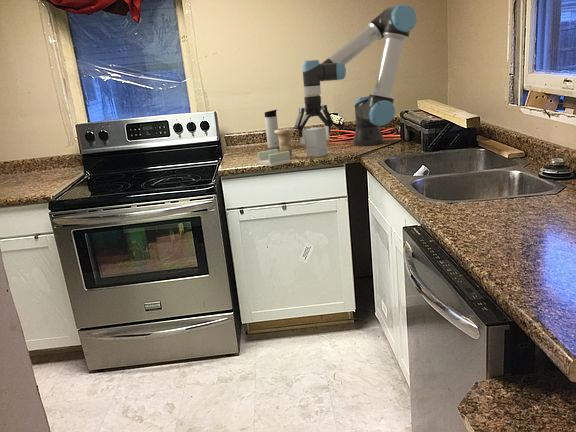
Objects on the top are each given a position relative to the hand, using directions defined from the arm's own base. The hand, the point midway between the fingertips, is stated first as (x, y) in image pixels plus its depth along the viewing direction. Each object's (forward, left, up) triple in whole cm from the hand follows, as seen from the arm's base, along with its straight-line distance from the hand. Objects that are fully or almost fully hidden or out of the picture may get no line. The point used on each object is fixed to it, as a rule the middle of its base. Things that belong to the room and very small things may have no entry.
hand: (315, 142), depth 241 cm
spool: (+12, -8, -6) cm, 15 cm away
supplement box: (0, 0, -7) cm, 7 cm away
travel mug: (+2, -38, -6) cm, 38 cm away
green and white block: (+22, -2, -6) cm, 22 cm away
